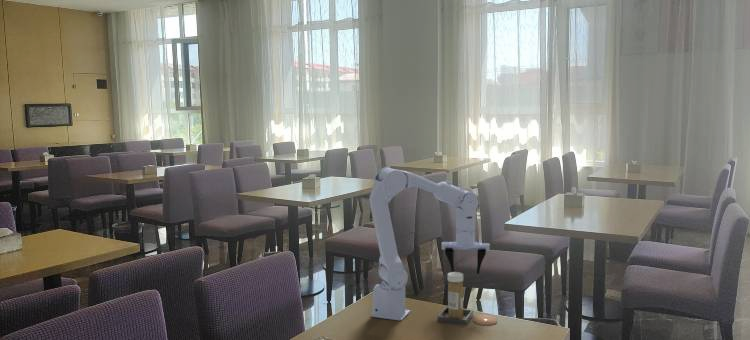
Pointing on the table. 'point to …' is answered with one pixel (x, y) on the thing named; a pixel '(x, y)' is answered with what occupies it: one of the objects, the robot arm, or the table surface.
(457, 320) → the square socket
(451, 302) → the sprinkles bottle
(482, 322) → the terracotta coaster
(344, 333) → the table surface
